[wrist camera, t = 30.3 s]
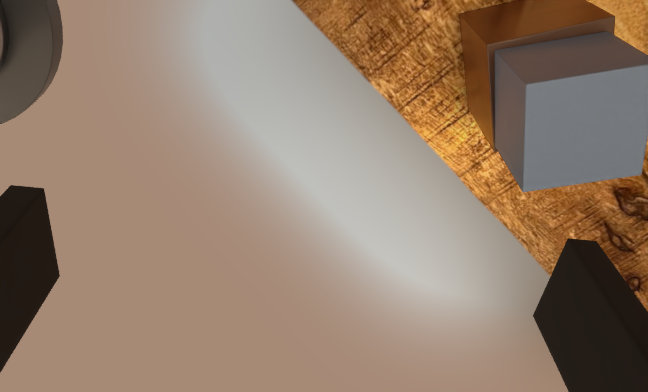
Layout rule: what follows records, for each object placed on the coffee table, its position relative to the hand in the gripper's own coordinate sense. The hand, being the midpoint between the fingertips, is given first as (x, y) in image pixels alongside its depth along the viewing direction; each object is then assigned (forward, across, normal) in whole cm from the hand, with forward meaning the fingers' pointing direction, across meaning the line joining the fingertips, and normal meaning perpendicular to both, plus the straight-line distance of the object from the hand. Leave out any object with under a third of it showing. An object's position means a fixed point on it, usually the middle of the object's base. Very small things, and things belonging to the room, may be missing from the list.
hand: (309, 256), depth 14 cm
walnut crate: (+37, +18, -4) cm, 41 cm away
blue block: (+28, +18, -4) cm, 33 cm away
